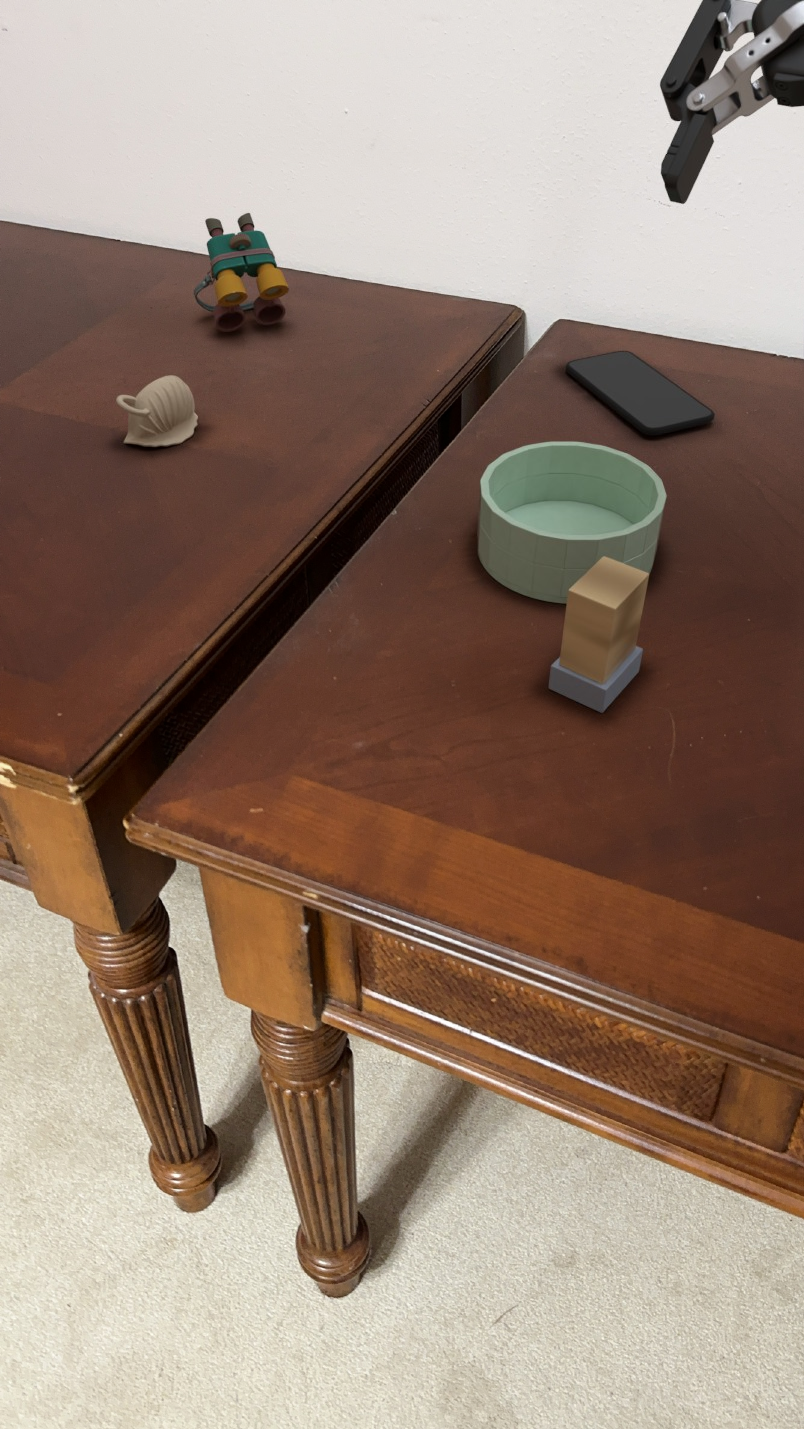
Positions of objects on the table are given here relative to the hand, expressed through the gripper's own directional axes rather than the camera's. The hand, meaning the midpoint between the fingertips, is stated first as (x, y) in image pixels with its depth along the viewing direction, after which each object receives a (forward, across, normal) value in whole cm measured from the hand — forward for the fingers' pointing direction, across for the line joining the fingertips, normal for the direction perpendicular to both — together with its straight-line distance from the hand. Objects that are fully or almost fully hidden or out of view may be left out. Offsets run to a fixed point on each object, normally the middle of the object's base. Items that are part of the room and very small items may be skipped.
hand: (751, 211), depth 55 cm
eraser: (+24, -2, +16) cm, 29 cm away
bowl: (+16, -11, +24) cm, 31 cm away
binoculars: (+5, -57, +35) cm, 67 cm away
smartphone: (-2, -18, +42) cm, 46 cm away
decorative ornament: (+20, -48, +20) cm, 56 cm away
